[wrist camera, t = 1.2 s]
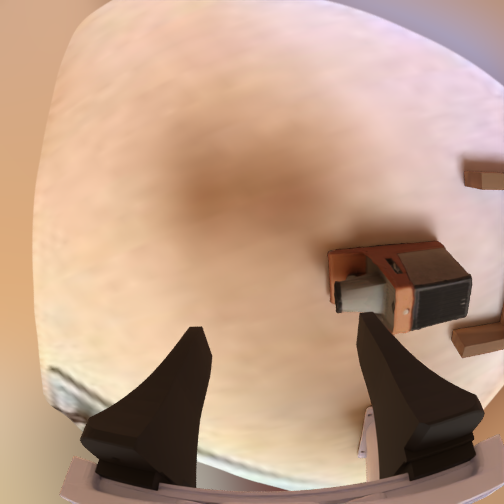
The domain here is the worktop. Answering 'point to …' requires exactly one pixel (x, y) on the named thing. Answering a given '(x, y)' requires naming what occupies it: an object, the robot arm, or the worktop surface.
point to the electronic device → (400, 284)
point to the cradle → (500, 333)
